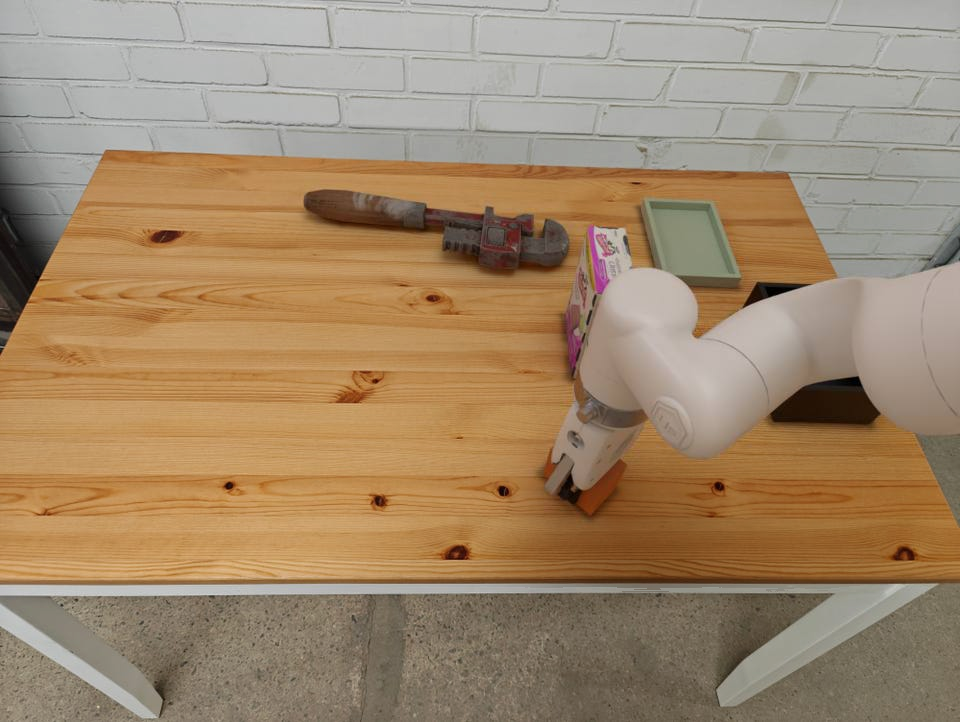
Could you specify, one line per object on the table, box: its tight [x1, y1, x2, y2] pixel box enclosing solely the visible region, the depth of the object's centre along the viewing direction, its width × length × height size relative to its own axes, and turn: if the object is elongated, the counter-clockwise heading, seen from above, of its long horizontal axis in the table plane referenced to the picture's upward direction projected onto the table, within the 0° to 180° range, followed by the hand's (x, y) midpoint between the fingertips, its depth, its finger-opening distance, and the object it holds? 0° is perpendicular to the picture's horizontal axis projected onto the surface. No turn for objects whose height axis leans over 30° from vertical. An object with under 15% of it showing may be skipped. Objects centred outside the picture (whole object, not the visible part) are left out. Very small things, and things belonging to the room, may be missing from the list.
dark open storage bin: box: [741, 281, 882, 425], centre depth 81 cm, size 18×13×7 cm
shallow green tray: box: [639, 197, 743, 289], centre depth 97 cm, size 18×12×2 cm, turn 0°
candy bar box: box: [565, 225, 634, 380], centre depth 77 cm, size 11×5×16 cm, turn 179°
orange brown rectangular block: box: [542, 445, 628, 516], centre depth 69 cm, size 7×4×6 cm, turn 45°
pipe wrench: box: [302, 188, 571, 270], centre depth 93 cm, size 40×12×5 cm, turn 85°
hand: (579, 479), depth 71 cm, fingers closed on orange brown rectangular block, 4 cm apart
